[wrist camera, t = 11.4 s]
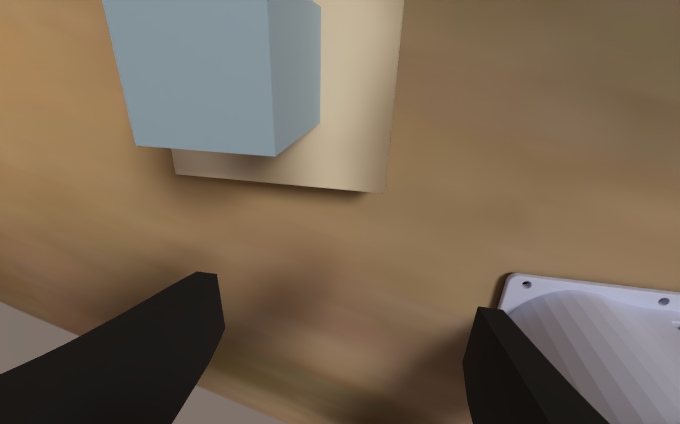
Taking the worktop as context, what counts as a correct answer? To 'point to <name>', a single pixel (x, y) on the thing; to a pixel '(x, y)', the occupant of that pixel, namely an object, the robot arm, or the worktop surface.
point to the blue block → (218, 72)
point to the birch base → (333, 109)
